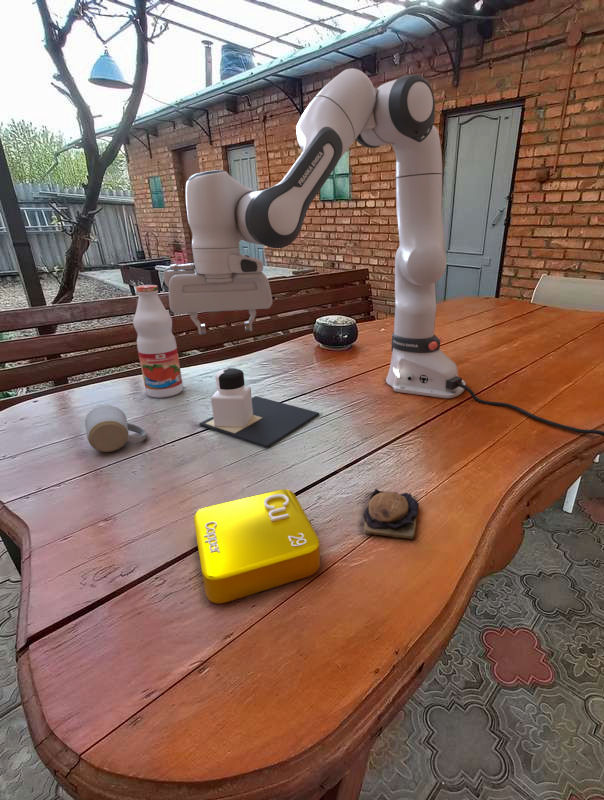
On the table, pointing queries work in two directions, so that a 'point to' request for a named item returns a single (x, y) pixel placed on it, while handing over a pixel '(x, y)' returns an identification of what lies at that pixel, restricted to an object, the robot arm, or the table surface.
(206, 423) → the mat
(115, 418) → the ceramic mug
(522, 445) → the table surface
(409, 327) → the robot arm
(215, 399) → the medicine bottle
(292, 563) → the element tile
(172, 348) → the fruit juice
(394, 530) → the brown layered stack
